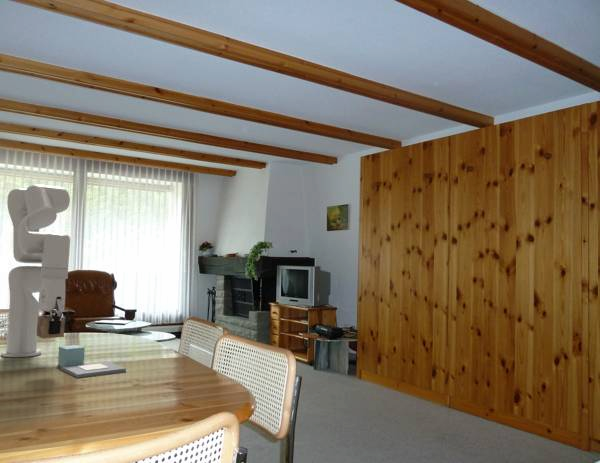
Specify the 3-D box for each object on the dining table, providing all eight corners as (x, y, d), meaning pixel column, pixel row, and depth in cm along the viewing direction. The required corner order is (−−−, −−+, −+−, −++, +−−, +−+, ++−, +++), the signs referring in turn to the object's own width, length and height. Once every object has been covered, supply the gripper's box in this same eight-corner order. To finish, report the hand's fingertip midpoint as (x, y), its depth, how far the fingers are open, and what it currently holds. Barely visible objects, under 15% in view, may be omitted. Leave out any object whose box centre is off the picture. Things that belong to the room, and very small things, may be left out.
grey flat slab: (60, 369, 162) (60, 365, 162) (107, 364, 173) (107, 360, 173) (77, 377, 152) (77, 373, 152) (125, 371, 162) (126, 367, 163)
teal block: (57, 364, 169) (59, 346, 170) (76, 362, 173) (77, 344, 174) (64, 368, 165) (65, 349, 165) (83, 365, 169) (84, 347, 170)
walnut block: (36, 335, 158) (37, 315, 158) (56, 333, 162) (58, 314, 163) (43, 338, 154) (44, 318, 154) (63, 336, 158) (65, 317, 158)
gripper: (32, 271, 162) (28, 328, 162) (51, 275, 150) (46, 337, 149) (57, 271, 168) (53, 327, 167) (77, 275, 155) (73, 335, 155)
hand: (50, 331), depth 158 cm, fingers closed on walnut block, 6 cm apart
